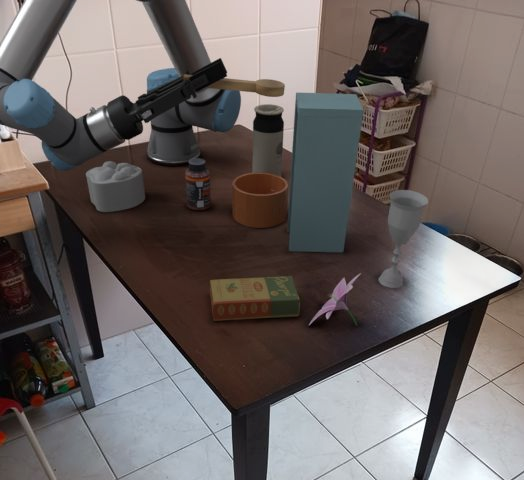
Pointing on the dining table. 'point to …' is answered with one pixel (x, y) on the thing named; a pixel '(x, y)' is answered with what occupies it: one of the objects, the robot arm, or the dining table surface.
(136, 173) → the lumpy-topped squat cylinder
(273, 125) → the travel mug
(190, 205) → the supplement bottle
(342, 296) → the lily
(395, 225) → the chalice
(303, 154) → the teal bin
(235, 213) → the pot
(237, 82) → the tan disc-ended rod
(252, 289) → the carton
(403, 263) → the dining table surface
